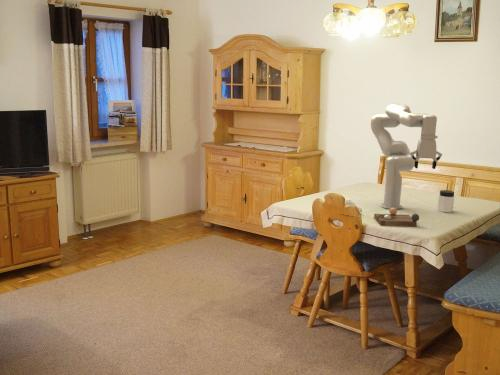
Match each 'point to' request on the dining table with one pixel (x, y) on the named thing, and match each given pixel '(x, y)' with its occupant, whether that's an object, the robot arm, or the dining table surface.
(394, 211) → the terracotta ball
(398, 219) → the board
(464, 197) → the dining table surface
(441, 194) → the jar
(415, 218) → the black ball
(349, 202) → the penguin figurine
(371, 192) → the dining table surface
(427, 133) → the robot arm
